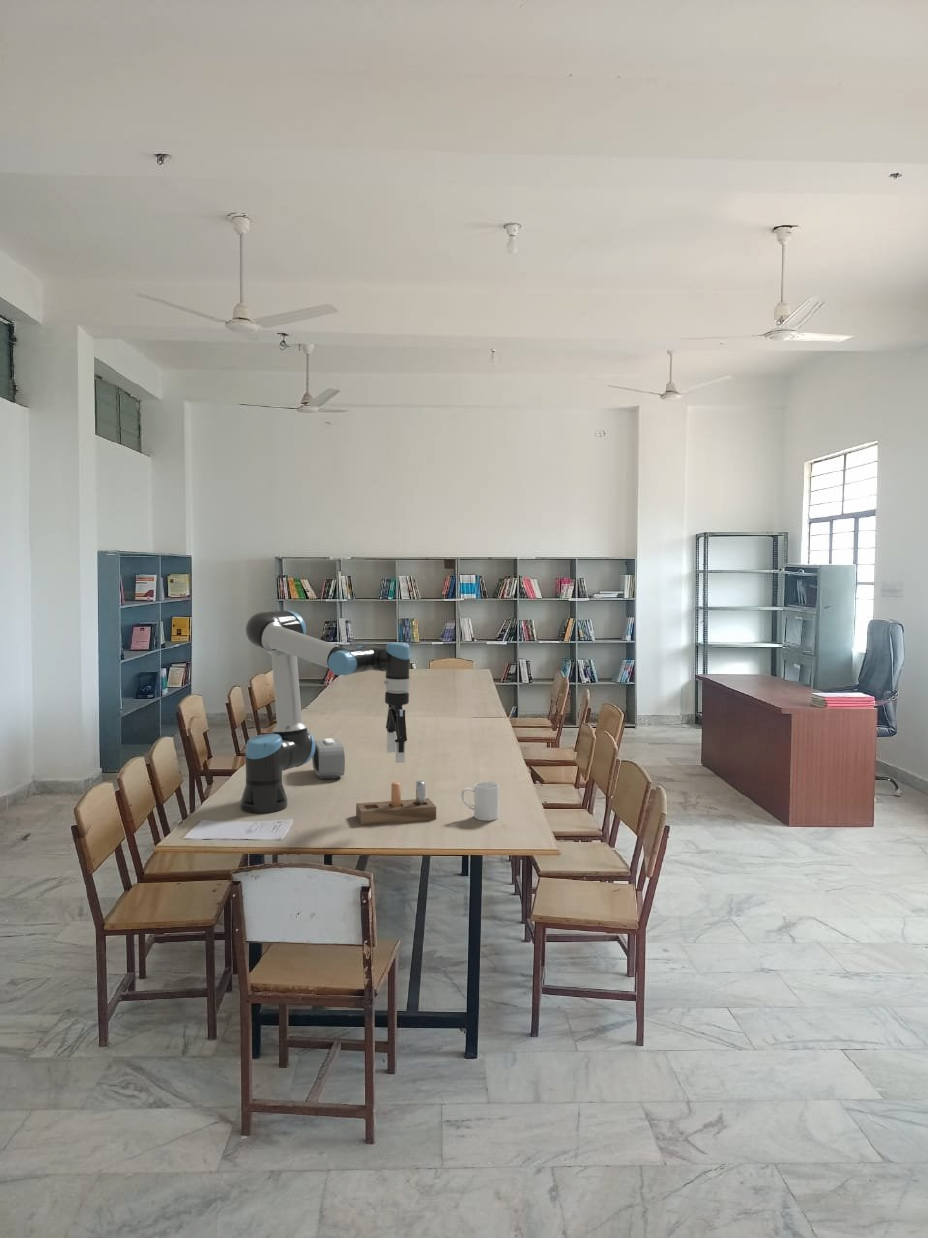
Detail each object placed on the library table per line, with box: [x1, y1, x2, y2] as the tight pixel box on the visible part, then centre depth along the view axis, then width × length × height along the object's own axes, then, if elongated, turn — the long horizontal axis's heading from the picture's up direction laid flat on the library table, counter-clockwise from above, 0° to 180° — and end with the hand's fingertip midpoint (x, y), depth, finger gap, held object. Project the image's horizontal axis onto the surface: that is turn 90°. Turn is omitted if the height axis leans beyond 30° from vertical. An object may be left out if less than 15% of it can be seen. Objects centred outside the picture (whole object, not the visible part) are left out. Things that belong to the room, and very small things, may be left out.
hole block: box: [355, 797, 437, 826], centre depth 264 cm, size 10×24×4 cm, turn 107°
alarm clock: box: [311, 737, 346, 780], centre depth 317 cm, size 21×10×13 cm, turn 18°
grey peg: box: [415, 780, 426, 806], centre depth 266 cm, size 3×3×11 cm
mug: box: [460, 781, 500, 822], centre depth 264 cm, size 12×8×10 cm, turn 103°
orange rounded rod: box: [390, 781, 402, 807], centre depth 263 cm, size 3×3×11 cm
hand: (395, 757), depth 263 cm, fingers open, 13 cm apart
